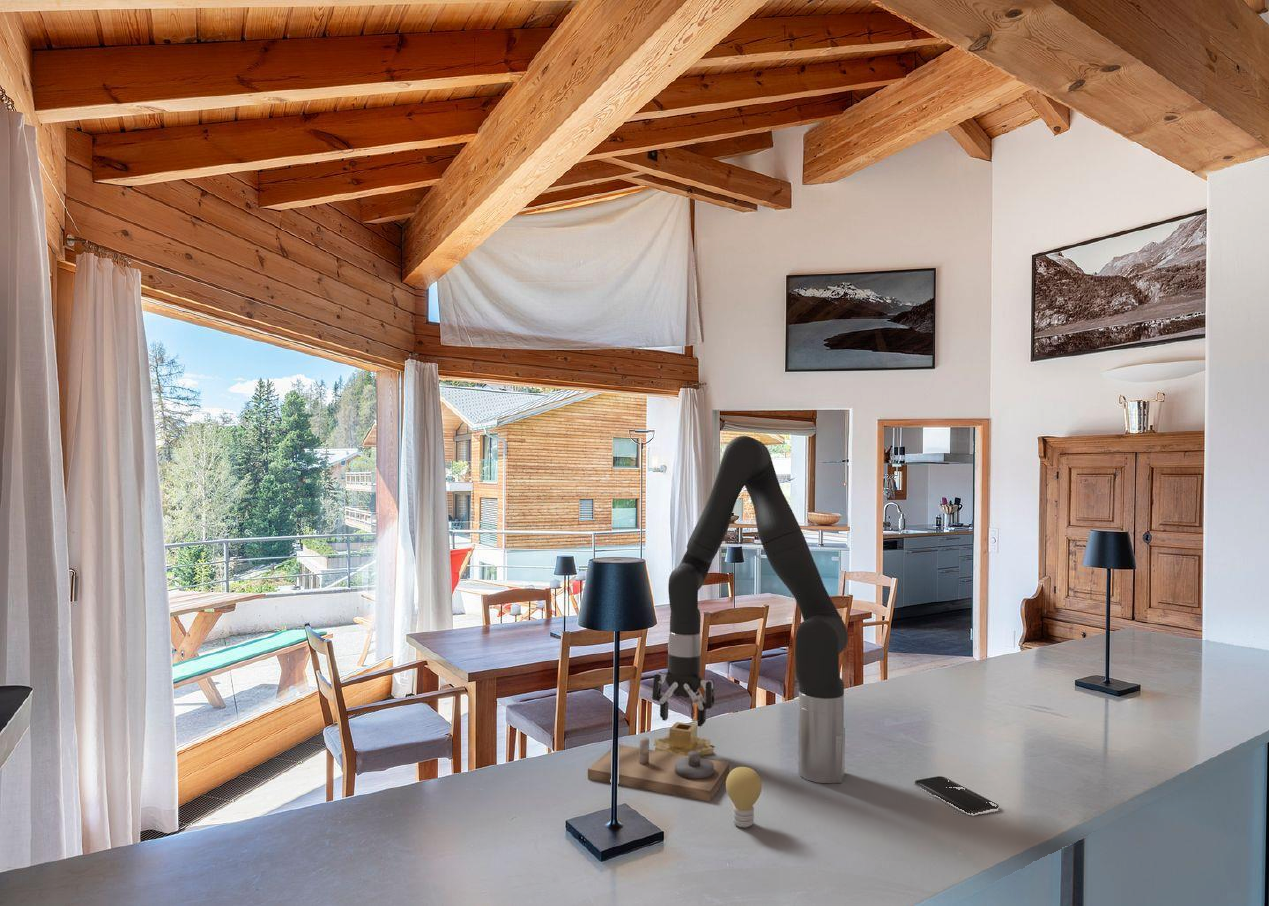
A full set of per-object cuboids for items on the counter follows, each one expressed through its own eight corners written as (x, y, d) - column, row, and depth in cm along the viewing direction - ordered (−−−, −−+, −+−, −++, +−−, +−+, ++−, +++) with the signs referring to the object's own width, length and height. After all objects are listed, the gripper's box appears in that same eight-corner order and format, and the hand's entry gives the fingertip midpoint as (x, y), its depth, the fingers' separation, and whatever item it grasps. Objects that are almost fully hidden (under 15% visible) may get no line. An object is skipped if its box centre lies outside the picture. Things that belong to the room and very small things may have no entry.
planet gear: (721, 743, 171) (721, 721, 171) (704, 765, 157) (704, 741, 158) (664, 734, 176) (664, 713, 176) (643, 755, 163) (643, 732, 163)
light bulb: (760, 835, 127) (761, 777, 127) (724, 831, 128) (724, 773, 129) (761, 818, 133) (762, 763, 134) (726, 814, 135) (727, 759, 135)
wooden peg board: (729, 772, 154) (729, 738, 154) (710, 801, 140) (710, 764, 140) (616, 753, 164) (616, 721, 164) (587, 778, 150) (588, 744, 150)
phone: (970, 812, 135) (912, 780, 149) (970, 819, 135) (912, 786, 149) (1002, 806, 138) (942, 775, 152) (1002, 812, 138) (942, 780, 152)
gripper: (718, 651, 168) (716, 722, 168) (660, 644, 174) (658, 712, 173) (709, 659, 161) (707, 733, 161) (649, 651, 167) (647, 722, 166)
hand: (682, 722), depth 167 cm, fingers open, 8 cm apart
